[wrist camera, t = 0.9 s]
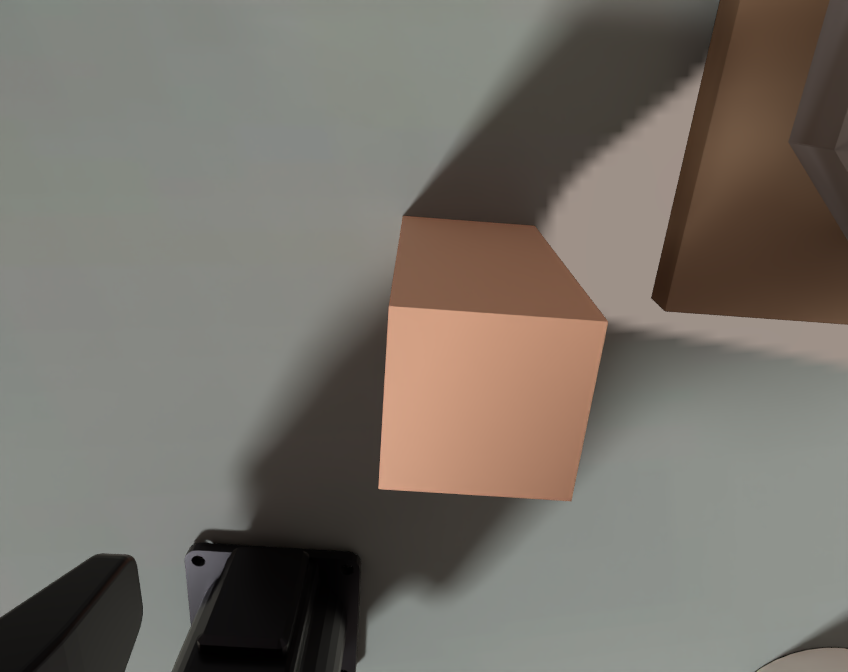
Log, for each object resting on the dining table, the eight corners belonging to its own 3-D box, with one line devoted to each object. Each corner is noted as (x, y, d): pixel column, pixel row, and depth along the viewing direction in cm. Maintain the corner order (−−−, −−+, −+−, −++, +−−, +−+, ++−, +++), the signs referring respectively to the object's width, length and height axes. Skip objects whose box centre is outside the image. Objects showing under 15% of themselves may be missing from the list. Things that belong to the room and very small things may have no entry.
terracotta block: (517, 346, 20) (571, 500, 13) (395, 337, 20) (378, 488, 13) (534, 225, 19) (607, 321, 11) (402, 215, 18) (389, 306, 11)
